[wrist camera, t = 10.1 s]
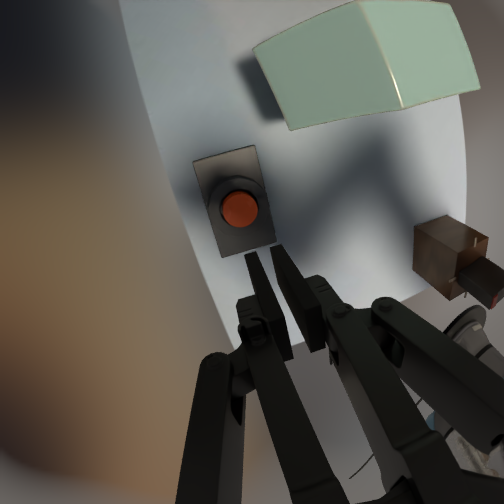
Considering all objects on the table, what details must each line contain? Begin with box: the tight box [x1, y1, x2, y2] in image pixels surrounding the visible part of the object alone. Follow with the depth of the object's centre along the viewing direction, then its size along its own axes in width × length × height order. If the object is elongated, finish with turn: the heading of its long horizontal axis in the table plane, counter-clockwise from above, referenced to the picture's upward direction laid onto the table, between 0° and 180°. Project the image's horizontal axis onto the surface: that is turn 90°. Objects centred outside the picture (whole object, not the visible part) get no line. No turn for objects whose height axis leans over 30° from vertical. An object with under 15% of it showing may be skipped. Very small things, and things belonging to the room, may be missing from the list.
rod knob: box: [458, 256, 504, 310], centre depth 28 cm, size 6×2×7 cm, turn 108°
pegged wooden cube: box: [412, 215, 489, 301], centre depth 36 cm, size 10×10×10 cm
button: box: [222, 191, 258, 227], centre depth 30 cm, size 4×4×2 cm
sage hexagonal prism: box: [252, 0, 480, 131], centre depth 20 cm, size 17×8×21 cm
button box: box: [193, 145, 277, 258], centre depth 31 cm, size 12×7×2 cm, turn 13°
